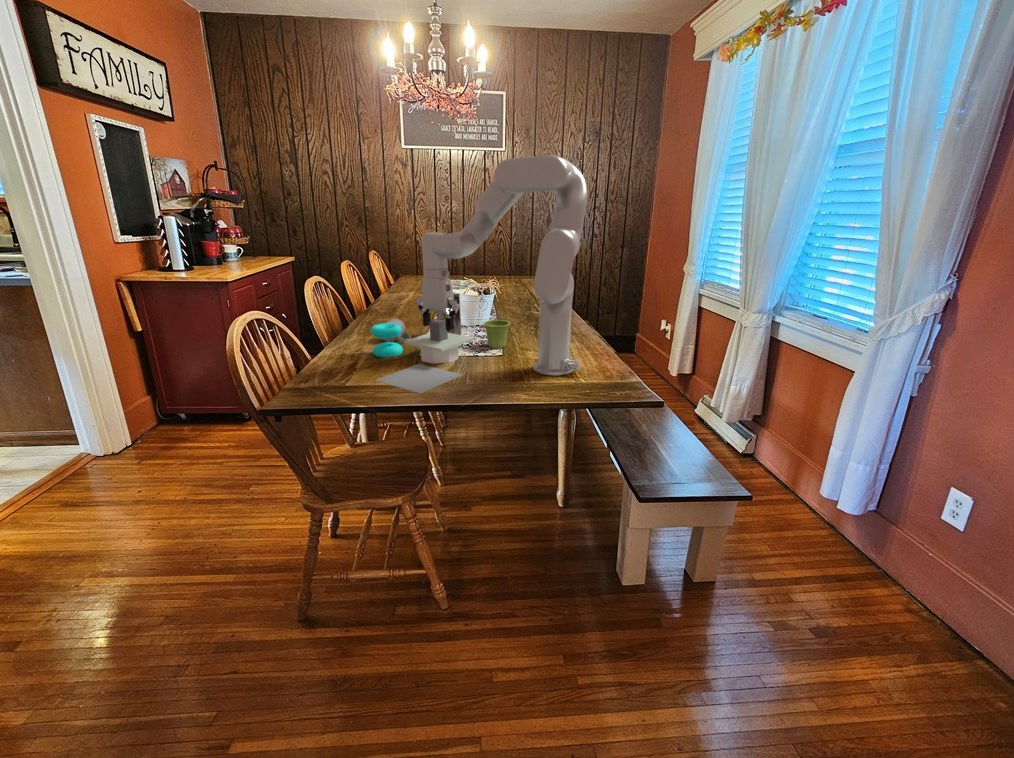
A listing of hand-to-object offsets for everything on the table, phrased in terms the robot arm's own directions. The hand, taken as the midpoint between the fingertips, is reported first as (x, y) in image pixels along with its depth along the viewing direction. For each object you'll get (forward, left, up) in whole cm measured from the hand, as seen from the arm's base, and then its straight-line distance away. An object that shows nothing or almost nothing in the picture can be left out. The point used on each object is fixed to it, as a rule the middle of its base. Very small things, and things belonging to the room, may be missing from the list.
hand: (438, 327), depth 155 cm
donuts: (+18, +6, -11) cm, 22 cm away
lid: (0, 0, -5) cm, 5 cm away
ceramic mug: (+28, -8, -11) cm, 32 cm away
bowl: (0, 0, -11) cm, 11 cm away
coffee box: (+16, -24, -11) cm, 31 cm away
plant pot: (-7, -23, -11) cm, 26 cm away
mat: (-8, +18, -11) cm, 22 cm away
